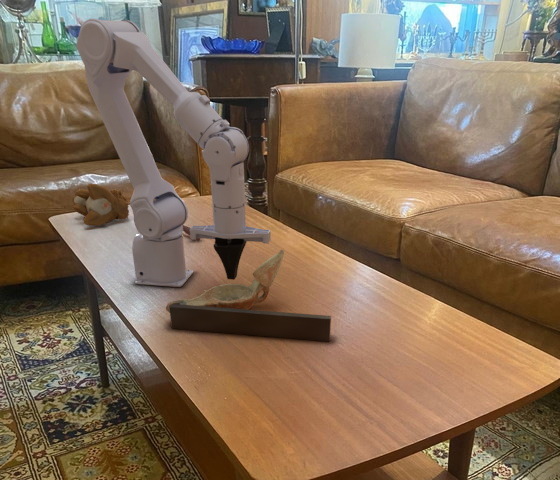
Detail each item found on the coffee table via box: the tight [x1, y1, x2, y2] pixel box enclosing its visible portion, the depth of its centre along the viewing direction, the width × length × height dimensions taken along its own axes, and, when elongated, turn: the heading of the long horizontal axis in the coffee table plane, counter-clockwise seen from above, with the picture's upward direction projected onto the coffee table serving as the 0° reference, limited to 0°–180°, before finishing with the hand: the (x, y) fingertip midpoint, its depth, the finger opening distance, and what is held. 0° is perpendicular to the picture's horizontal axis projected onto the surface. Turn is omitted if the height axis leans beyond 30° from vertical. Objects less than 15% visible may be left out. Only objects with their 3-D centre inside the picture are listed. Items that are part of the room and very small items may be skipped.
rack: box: [169, 304, 332, 343], centre depth 88 cm, size 26×1×4 cm, turn 80°
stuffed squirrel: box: [72, 183, 130, 226], centre depth 143 cm, size 10×14×13 cm
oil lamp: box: [165, 248, 285, 314], centre depth 93 cm, size 9×21×10 cm, turn 113°
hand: (232, 277), depth 103 cm, fingers closed
